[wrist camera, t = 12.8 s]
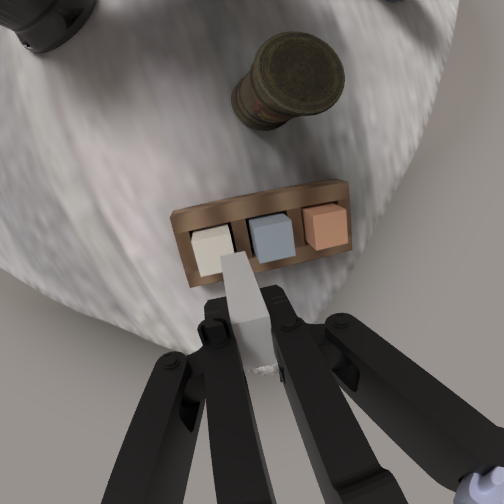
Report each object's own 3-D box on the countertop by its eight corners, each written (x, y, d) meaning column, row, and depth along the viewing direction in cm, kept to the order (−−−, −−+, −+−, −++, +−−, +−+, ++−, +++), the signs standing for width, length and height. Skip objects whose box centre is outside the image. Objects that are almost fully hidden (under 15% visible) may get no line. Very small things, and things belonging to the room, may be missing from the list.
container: (221, 87, 34) (233, 42, 17) (277, 67, 34) (324, 21, 17) (246, 140, 37) (277, 132, 21) (300, 118, 37) (363, 103, 21)
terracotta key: (302, 237, 43) (316, 250, 37) (298, 206, 41) (312, 215, 35) (330, 230, 43) (347, 243, 38) (328, 200, 41) (346, 209, 36)
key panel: (191, 276, 44) (189, 287, 40) (173, 211, 39) (169, 217, 36) (341, 241, 46) (352, 249, 42) (336, 178, 42) (348, 182, 38)
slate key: (252, 248, 42) (259, 263, 36) (246, 216, 40) (253, 228, 35) (284, 241, 42) (295, 255, 37) (279, 210, 40) (291, 220, 35)
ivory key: (201, 259, 41) (200, 277, 36) (193, 228, 39) (191, 242, 34) (233, 252, 42) (237, 268, 36) (226, 221, 40) (230, 233, 34)
